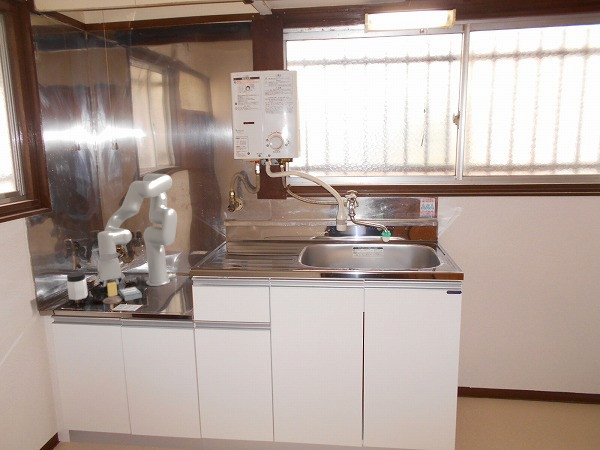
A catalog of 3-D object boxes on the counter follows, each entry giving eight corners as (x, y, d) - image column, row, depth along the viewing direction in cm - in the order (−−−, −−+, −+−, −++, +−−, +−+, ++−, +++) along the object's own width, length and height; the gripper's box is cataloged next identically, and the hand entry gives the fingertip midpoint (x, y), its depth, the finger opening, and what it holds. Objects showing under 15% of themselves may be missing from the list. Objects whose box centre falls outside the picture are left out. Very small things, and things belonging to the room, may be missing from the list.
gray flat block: (135, 290, 233) (135, 286, 233) (141, 297, 224) (141, 292, 223) (119, 294, 229) (119, 289, 228) (125, 301, 219) (124, 296, 219)
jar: (91, 295, 228) (89, 272, 226) (79, 300, 220) (76, 277, 218) (77, 293, 231) (75, 271, 228) (65, 299, 223) (62, 276, 221)
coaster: (120, 296, 226) (119, 294, 226) (124, 301, 219) (124, 300, 218) (101, 300, 221) (101, 298, 221) (105, 305, 214) (104, 304, 213)
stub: (115, 292, 221) (113, 280, 220) (117, 294, 217) (116, 282, 216) (106, 293, 219) (105, 281, 218) (108, 296, 215) (107, 284, 214)
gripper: (124, 252, 223) (127, 287, 226) (87, 257, 214) (91, 293, 217) (128, 255, 217) (131, 291, 220) (90, 261, 207) (94, 298, 211)
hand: (111, 292), depth 219 cm, fingers closed on stub, 4 cm apart
